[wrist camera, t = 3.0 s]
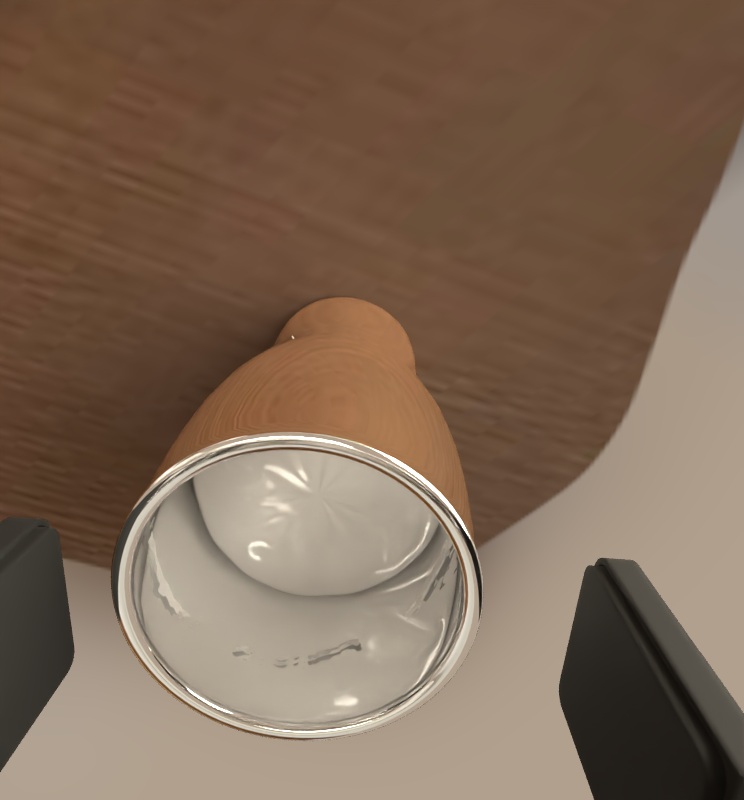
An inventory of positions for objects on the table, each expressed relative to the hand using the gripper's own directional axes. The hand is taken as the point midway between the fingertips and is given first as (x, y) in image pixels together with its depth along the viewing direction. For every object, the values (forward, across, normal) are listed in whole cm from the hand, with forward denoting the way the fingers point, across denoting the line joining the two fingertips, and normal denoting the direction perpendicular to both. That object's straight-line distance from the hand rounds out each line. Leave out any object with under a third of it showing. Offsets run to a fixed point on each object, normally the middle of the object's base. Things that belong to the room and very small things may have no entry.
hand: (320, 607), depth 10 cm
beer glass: (+15, +1, 0) cm, 15 cm away
